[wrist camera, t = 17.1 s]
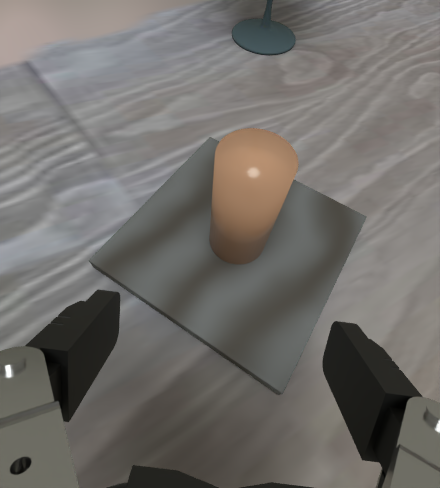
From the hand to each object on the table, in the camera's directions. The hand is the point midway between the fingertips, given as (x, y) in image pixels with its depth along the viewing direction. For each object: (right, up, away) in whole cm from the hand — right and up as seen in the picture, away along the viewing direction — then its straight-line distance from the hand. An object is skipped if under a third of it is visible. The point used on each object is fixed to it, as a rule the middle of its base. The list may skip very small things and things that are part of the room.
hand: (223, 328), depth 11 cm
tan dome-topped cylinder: (+2, +4, +18) cm, 18 cm away
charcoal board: (+2, +3, +19) cm, 20 cm away
